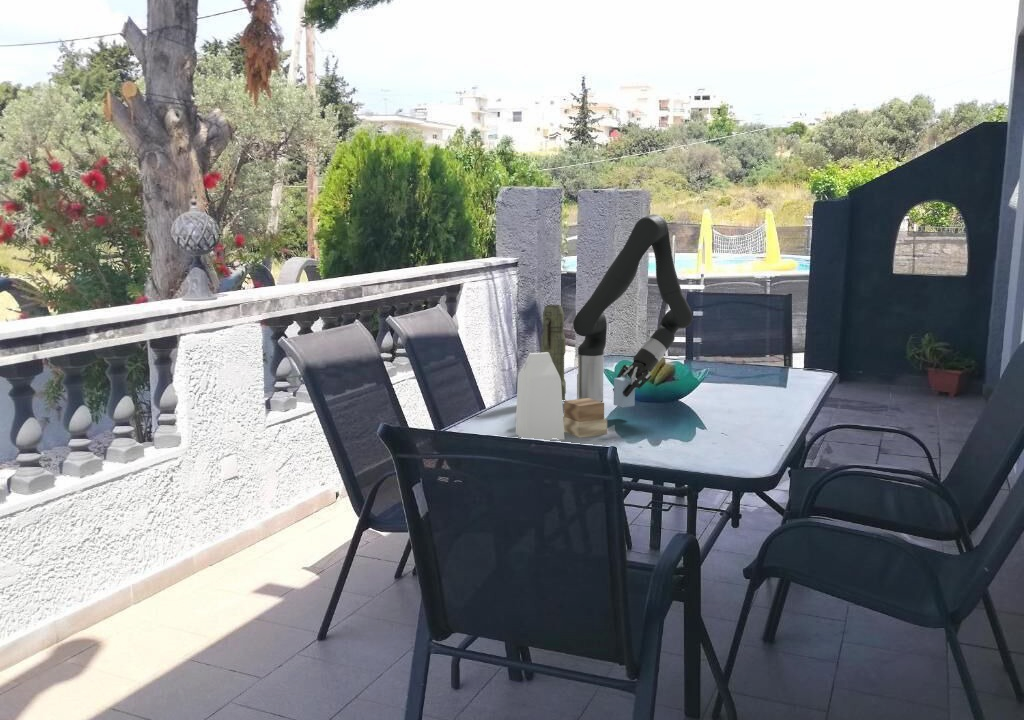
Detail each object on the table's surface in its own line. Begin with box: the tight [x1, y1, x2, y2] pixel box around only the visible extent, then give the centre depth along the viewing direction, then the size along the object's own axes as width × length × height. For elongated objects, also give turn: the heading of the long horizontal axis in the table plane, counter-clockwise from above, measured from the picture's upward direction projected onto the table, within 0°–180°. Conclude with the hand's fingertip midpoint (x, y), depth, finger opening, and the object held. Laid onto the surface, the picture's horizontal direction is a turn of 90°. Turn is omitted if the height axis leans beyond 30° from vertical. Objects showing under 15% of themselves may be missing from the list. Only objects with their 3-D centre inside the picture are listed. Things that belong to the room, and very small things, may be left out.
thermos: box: [540, 304, 567, 401], centre depth 329 cm, size 9×12×35 cm
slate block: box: [613, 376, 636, 408], centre depth 300 cm, size 5×5×9 cm
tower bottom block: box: [563, 415, 608, 439], centre depth 281 cm, size 10×10×5 cm
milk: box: [515, 352, 565, 441], centre depth 275 cm, size 12×12×26 cm
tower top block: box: [563, 398, 605, 422], centre depth 281 cm, size 9×9×5 cm
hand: (619, 393), depth 299 cm, fingers closed on slate block, 5 cm apart
